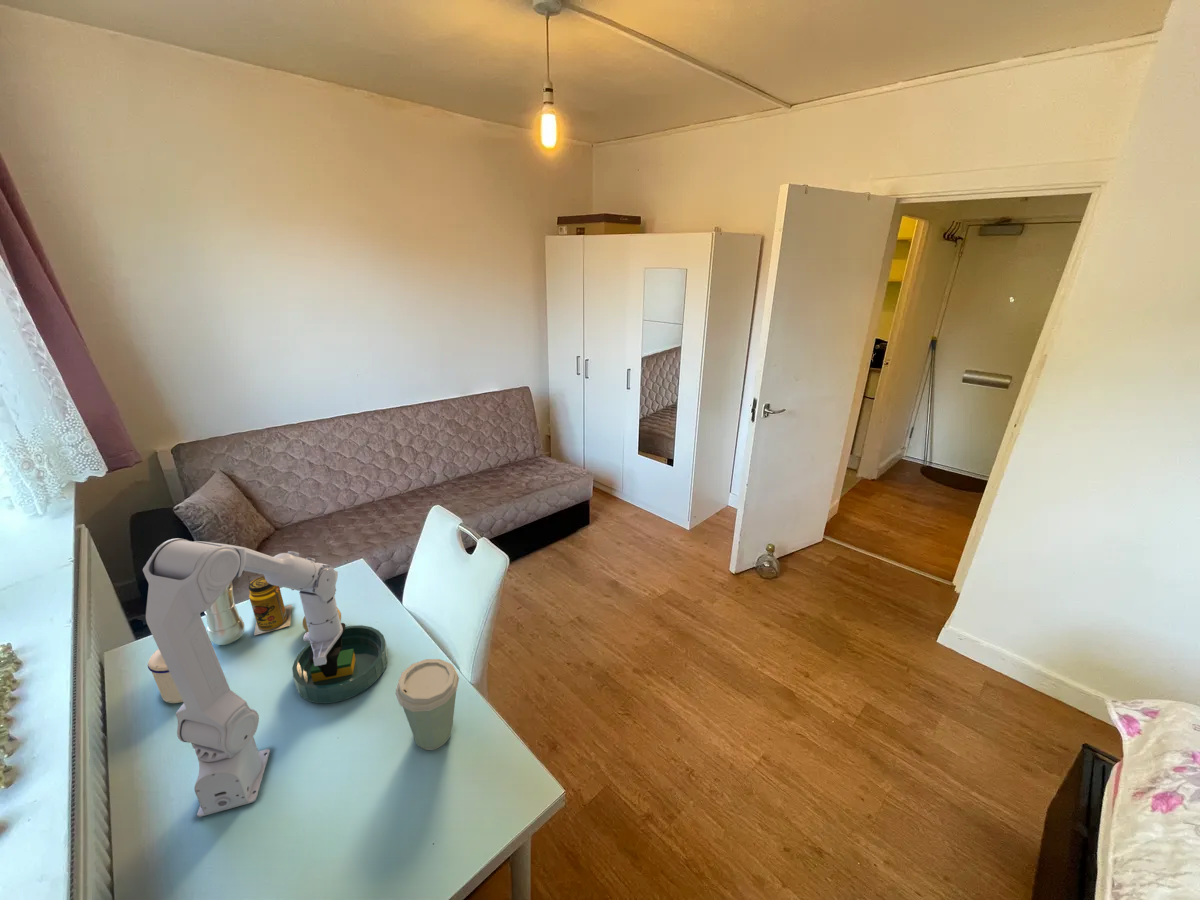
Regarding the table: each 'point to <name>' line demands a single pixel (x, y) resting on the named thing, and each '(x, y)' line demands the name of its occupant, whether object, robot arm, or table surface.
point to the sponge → (343, 663)
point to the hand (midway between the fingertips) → (333, 666)
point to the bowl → (365, 673)
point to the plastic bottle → (224, 619)
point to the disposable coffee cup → (429, 700)
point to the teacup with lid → (163, 678)
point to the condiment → (268, 606)
